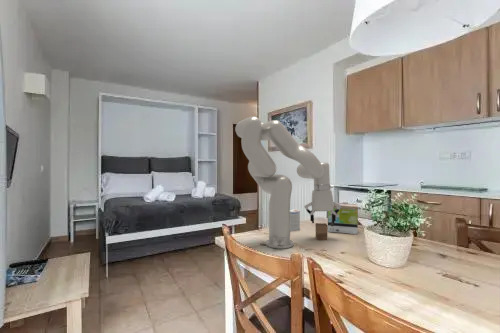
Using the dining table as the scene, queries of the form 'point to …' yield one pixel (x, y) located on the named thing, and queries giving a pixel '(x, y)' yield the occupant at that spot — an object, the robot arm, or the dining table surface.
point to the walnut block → (321, 231)
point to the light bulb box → (294, 219)
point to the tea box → (344, 219)
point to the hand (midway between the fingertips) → (323, 222)
